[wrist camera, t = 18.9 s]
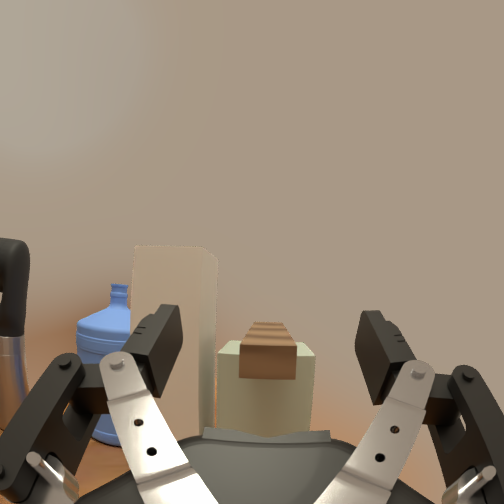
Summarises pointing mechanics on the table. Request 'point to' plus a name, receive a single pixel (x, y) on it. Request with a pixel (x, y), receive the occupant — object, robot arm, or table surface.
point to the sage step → (264, 396)
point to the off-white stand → (193, 325)
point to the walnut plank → (268, 353)
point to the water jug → (105, 346)
